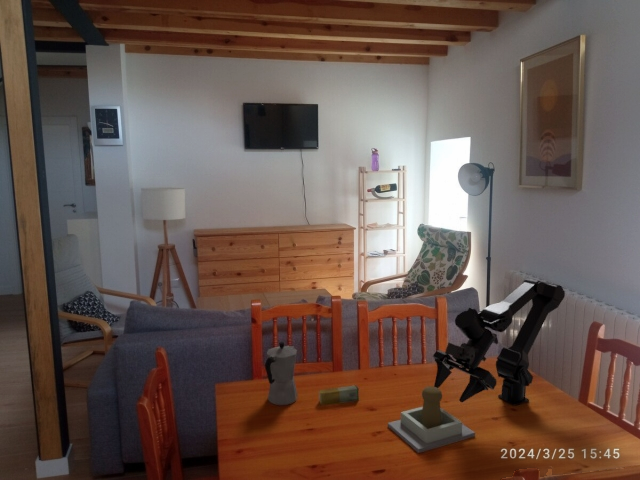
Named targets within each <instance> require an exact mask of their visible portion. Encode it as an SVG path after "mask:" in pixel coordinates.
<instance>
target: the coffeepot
mask: <svg viewBox="0 0 640 480" xmlns="http://www.w3.org/2000/svg"><path fill="white" fill-rule="evenodd" d="M278 345H279V346H276V347H272V348H268V350H267V352H266V357H267V359H266V361H265V363H264V368H265V372H266V376H267V379H268V383H269V389H268V390H269V391H268V395H267V401H269V403H271V404H273V405H275V406H276V405H277V406H286V405H290V404H293V403H295V402H296V401H297V399H298V398H297V397H298V392H297V387H296V382H295V380H296V379H295V377H294V373H295V367H296V359H297V352H298V350H297V349H296V348H295V346H294V345H293V346H292V345H290V344H289V345H285V342H284V341H281V342H279V343H278Z"/></svg>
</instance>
